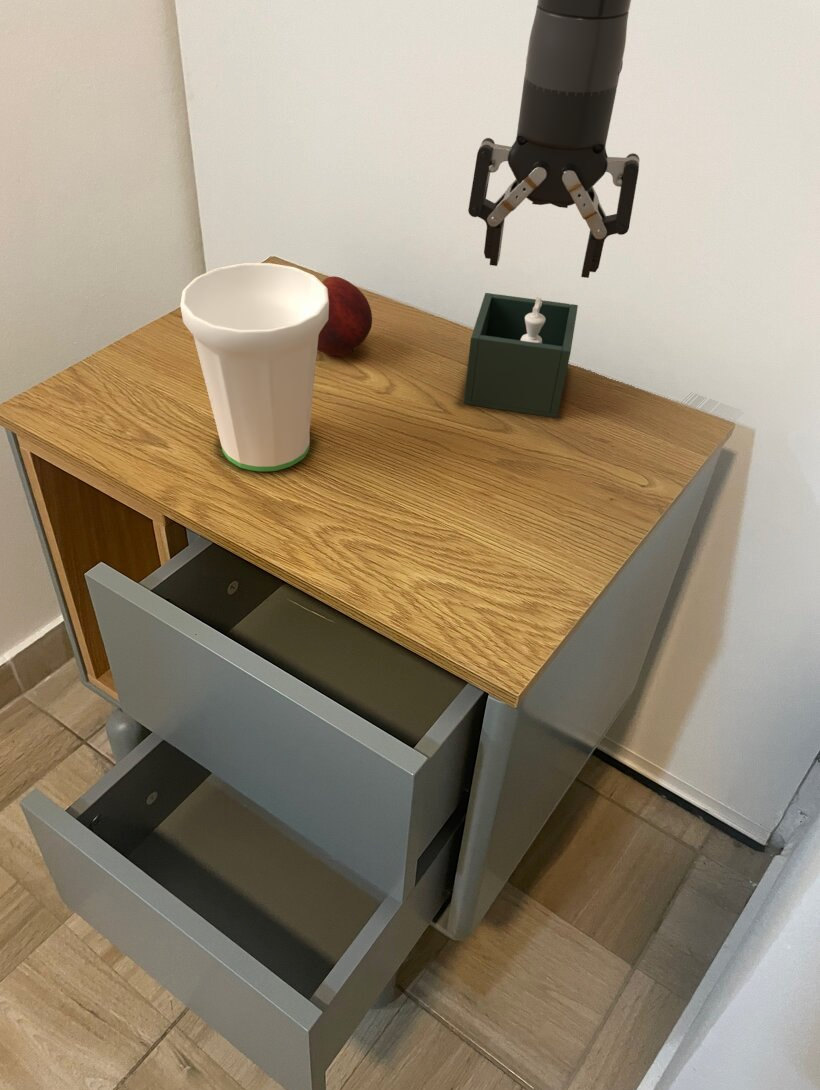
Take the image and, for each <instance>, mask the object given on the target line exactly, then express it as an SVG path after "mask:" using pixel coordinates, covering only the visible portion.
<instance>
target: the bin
mask: <svg viewBox="0 0 820 1090" xmlns="http://www.w3.org/2000/svg"><path fill="white" fill-rule="evenodd" d="M535 301H536V298H529V297H522V296H521V297H520V296H512V295H505V294H498V293H490V292H485V293H484V296H483V299H482V302H481V305H480V308H479V311H478V314H477V317H476V320H475V324H474V327H473V330H472V333H471V336H470V343H469V344H470V345H469V353H468V359H467V360H468V361H467V369H466V377H465V378H466V379H465V386H464V393H463V394H464V395H463V405H470V406H476V407H482V408H489V409H495V410H502V411H507V412H508V411H509V412H515V413H523V414H529V415H535V416H541V417H548V418H555V419H557V418H558V415H559V411H560V405H561V401H562V396H563V391H564V386H565V381H566V376H567V371H568V367H569V362H570V358H571V353H572V347H573V346H572V345H573V340H574V334H575V329H576V328H575V327H576V322H577V321H576V320H577V316H578V315H577V314H578V308H579V306H578V304H573V303H571V304H570V303H566V302H559V301H551V300H542V299H541V301H542V306H541V307H540V310H539V313H540V314H542V315H543V316H544V317H545V319H546V320H545V323H544V325H543V326H542V328H541V330H540V332H539V334H538V335H539V336H540V337H541V338H542V343H535V342H527V341H521V338H522V336H523V335H525V334H527V330H526V323H525V316H526V315H527V314H529V313H533V312H532V311H533V307H534V306H535Z"/></svg>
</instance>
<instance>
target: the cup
mask: <svg viewBox="0 0 820 1090" xmlns="http://www.w3.org/2000/svg"><path fill="white" fill-rule="evenodd" d="M179 305H180V306H179V307H180V310H181V317H182V318H181V319H182V323H183V324H184V325H185V327H186V328H187V329H188V331H189V332H190V333H191V335H192V336H193V340H194V343H195V348H196V353H197V355H198V359H199V363H200V368H201V371H202V377H203V379H204V383H205V387H206V390H207V394H208V398H209V403H210V407H211V410H212V415H213V418H214V422H215V427H216V430H217V434H218V438H219V441H220V445H221V451H222V453H223V454H224V456H225V457H226V459H227V460H228V461H229V462H230V463H232V464H233V465H234V466H236V467H238V468H241V469H244V470H248V471H253V472H278V471H281V470H284V469H287V468H290V467H292V466H294V465H296V464H298V463H299V462H301V461H302V460H303V459H304V458H305V457H306V456H307V454H308V452H309V450H310V443H311V442H310V440H311V439H310V438H311V436H310V431H311V430H310V429H311V419H312V408H313V397H314V387H315V376H316V366H317V357H318V356H317V355H318V349H317V346H318V336H319V333H320V331H321V330H322V328H323V327H324V325H325V324H326V322H327V321H328V314H329V299H328V289H327V287H325V286H324V285H323V284H322V281H321V280H319V278H317V277H316V276H315V275H313V274H311V273H309V272H307V271H305V270H302V269H300V268H297V267H295V266H290V265H284V264H277V263H272V262H246V263H245V262H241V263H237V264H232V265H231V264H230V265H227V266H222V267H217V268H214V269H212V270H210V271H207V272H205V273H203V274H201V275H199V276H196V277H195V278H194V279H192V280H191V281H190V283H189V284H187V286H185V288H184V289H183V290H182V292H181V299H180V304H179Z"/></svg>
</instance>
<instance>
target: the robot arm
mask: <svg viewBox="0 0 820 1090" xmlns="http://www.w3.org/2000/svg"><path fill="white" fill-rule="evenodd" d="M631 2H632V0H537V4H536V8H535V9H536V10H535V14H534V18H533V23H532V26H531V30H530V34H529V39H528V47H527V53H526V59H525V70H524V77H523V84H522V92H521V100H520V107H519V113H518V114H519V116H518V123H517V131H516V136H515V141H514V142H513V144H512V145H511V146H510V145H503V144H497V143H496V142H495V140H494V139H493V138H490V137H486V138H484V139H483V140H482V141H481V144H480V146H479V148H478V150H477V153H476V160H475V165H474V172H473V176H472V177H473V178H472V184H471V189H470V190H471V191H470V195H469V196H470V197H469V204H468V210H467V212H468V214H469V216H471V217H472V218H479V219H481V220H483V221H484V223H485V224H486V231H485V239H484V240H485V241H484V247H483V248H484V249H483V255H484V259H486V260H487V259H488V260H489V266H494V267H498V264H499V261H500V258H501V257H500V256H501V251H502V243H503V236H504V235H503V234H504V228H505V219H506V217H508V216H509V215H510V214H511V213H512V212H513V211H515V210H516V209H517V208H518V206H520V205H521V203H522V202H524V201H525V200H526V199H527V200H528V201H530V202H531V203H532V205H538V206H542V205H543V206H544V205H552V206H555V207H558V208H562V209H568V207H569V206H573V205H575V206H576V208H577V210H578V212H579V214H580V216H581V217H582V219H583V220H584V221H585V223H586V224H587V226H588V228H589V235H588V238H587V244H586V249H585V253H584V259H583V264H582V269H581V275H580V278H586V279H589V278H590V273H596V272H597V270H598V269H599V267H600V262H601V259H602V253H603V250H604V249H603V248H604V244H605V241H606V239H607V238H608V237H609V236H612V235H620V236H623V235H625V234H628V231H629V229H630V224H631V219H632V214H633V213H632V212H633V207H634V206H633V205H634V200H635V195H636V190H637V189H636V188H637V182H638V177H639V170H640V156H639V155H638V154H637V153H633V152H632V153H629V154H628V155H627V156H626V157H622V156H621V157H620V156H619V157H618V156H608V153H607V150H606V149H607V148H606V145H607V141H608V137H609V136H608V135H609V130H610V126H611V120H612V115H613V110H614V105H615V101H616V95H617V89H618V86H619V85H618V84H619V80H620V76H621V75H620V74H621V72H622V71H623V65H624V64H623V63H624V62H623V60H624V54H625V49H626V43H627V31H628V19H629V11H630V7H631ZM504 162H507V164H508V166H509V168H510V170H511V172H512V174H513V175H514V178H515V180H513V182H511V184H510V185H509V186H508V187H507V189H506V190H505V191H504V192H503V193H502V194H501V196H499V198H498V199H497V200H496V201H495V202H494V201H491V200H489V199H487V195H488V189H489V182H490V176H491V173H492V174H493V173H496V172H497V171H498V170H499V168H500V166H501V164H503V163H504ZM606 173H608V174H610V175H611V177H612V184H613V185H614V186H616V187H619V188H620V190H619V196H618V202H617V208H616V213H614V214H609V215H607V214H606V212H605V210H604V208H603V207H602V204H601V202H600V199H599V196H598V194H597V192H596V190H595V188H594V186H595V185H596V184H597V183H598V182H599V181H600V180H601V178H603V177H604V175H605V174H606Z"/></svg>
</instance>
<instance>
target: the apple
mask: <svg viewBox="0 0 820 1090" xmlns="http://www.w3.org/2000/svg"><path fill="white" fill-rule="evenodd" d="M321 283H322V284H323V285H324V286H325V287H327V289H328V299H329V314H328V321H327V322H326V324H325V325H324V327H323V328H322V330H321V331H320V333H319V336H318V346H317V351H319V352H321V353H323V354H325V355H329V356H342V355H346V354H348V353H350V352H352V353H354V350H355V349H357V348H358V347H359V346H360V345H362V343H363V342H364V341H365V340H366V338H367V337H368V336H369V334H370V332H371V329H372V326H373V312H372V309H371V306H370V303H369V301H368V299H367V297H366V296H365V295H364V293H363V292H362V291H361V290H360V289H359V288H358V287H357V286H355V285H354V283H351V282H350V281H348V280H346V279H344V278H342V277H339V276H328V277H326V278H325V279H323V281H321Z"/></svg>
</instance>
